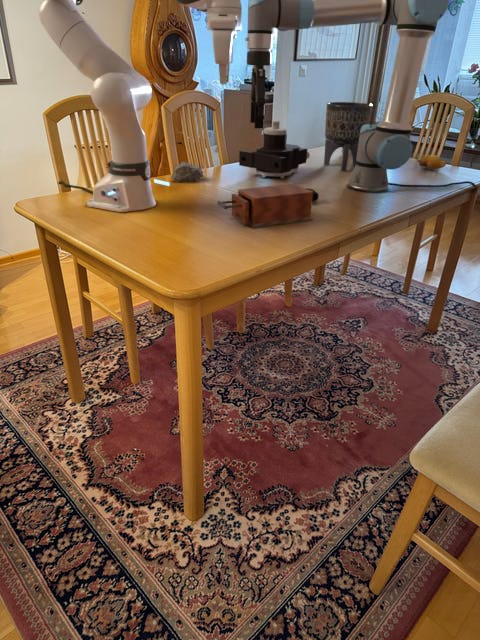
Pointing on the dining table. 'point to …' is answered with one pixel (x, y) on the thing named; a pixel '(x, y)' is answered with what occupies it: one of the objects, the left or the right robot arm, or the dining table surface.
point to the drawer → (239, 208)
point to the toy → (432, 162)
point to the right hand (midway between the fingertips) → (256, 125)
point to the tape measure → (315, 194)
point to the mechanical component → (274, 154)
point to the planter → (344, 129)
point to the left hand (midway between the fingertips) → (224, 83)
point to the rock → (186, 173)
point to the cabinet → (278, 204)
